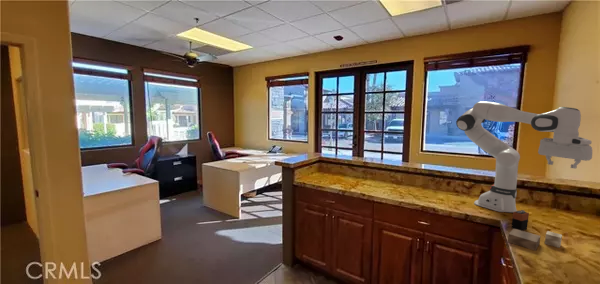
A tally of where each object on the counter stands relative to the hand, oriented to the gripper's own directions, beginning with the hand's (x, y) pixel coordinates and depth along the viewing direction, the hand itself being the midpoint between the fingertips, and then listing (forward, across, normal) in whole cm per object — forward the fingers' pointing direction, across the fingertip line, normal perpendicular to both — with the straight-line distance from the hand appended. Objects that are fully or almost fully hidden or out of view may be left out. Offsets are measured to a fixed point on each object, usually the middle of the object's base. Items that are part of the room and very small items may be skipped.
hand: (561, 166), depth 133 cm
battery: (+35, -7, -14) cm, 38 cm away
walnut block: (+35, +4, -29) cm, 46 cm away
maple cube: (+35, +9, -17) cm, 40 cm away
